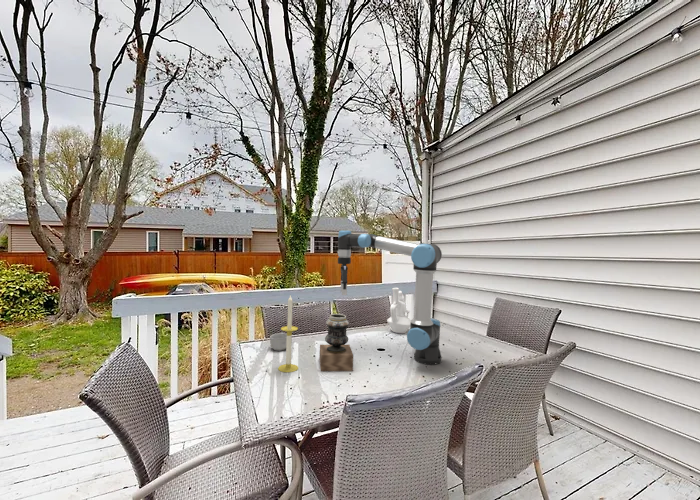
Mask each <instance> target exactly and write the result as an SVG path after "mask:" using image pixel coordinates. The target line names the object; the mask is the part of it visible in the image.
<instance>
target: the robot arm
mask: <svg viewBox="0 0 700 500" xmlns="http://www.w3.org/2000/svg"><path fill="white" fill-rule="evenodd" d="M337 236H338V238H337V243H338V244H337V245H338V246H337V247H338V248H337V252H336V253H337V256H338V258H337V264H339V265H341V266H340V292H341V295H342V296H348V295H347V294H348V269H349V267H348V266H347V265H350V264H351V262H352V261H351V260H352V259H351V256H352V248H362V249H363V248H365V249H366V248H372V249H377V250H383V251H385V252H391V253H395V254H400V255H404V256H408V257H411V262H412V263H413V267H412V268H413V271H414V272H415V285H414V305H413V306H414V308H413V318H412V319H410V320H411V323H410V327H409V329H408V330H407V331H408V332H407V334H406V341H407V343H408V344H409V345H410V347H412V349H415V350H414V353H413V360H415V361H416V362H418V363H420V364H424V363H426V364H425V365H436V364H435V363H439V364H441V363H442V362H443V361H442V358H443V356H442V354H441V350H440V336H441V335H440V334H441V321H440V320H439V319H436V318H433V317H432V301H433V300H432V299H433V282H434V280H433V279H434V274H435V272H437V265H438V264H439V262H440V261H441V259H442V255H443V253H442V250H441V248H440V247H439V246H438V245H437V244H434V243H425V242H419V243H415V242H409V241H406V240H401V239H400V240H399V239H395V238H390V237H386V236H381V235H376V234H373V233H371V234H368V233H367V234H366V233H352V231H351V230H339V231H338V235H337ZM440 362H441V363H440Z"/></svg>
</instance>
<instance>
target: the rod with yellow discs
mask: <svg viewBox="0 0 700 500" xmlns="http://www.w3.org/2000/svg"><path fill="white" fill-rule="evenodd" d="M286 323H287V324H286V325H285V326H282V327H280V330H281V331H282V332H286V334H287V342H286V349H285V351H286V352H285V364H281V365H279V366H278V368H277V370H278V371H279V372H282V373H294V372H297V371H298V370H299V366H298V365H296V364H292V339H293V332H296V331H298V329H299V327H298V326H295V325H293V298H292V296H291V294H290V295H289V298H288V299H287V322H286Z"/></svg>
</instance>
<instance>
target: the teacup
mask: <svg viewBox="0 0 700 500" xmlns="http://www.w3.org/2000/svg"><path fill="white" fill-rule="evenodd" d="M269 341H270V347H271V348H272V350H274V351H279V352H280V351H284V350H285V351H286V342H287V332H286V333H285V332H284V331H281V332H279V333H273V334H271V335H270V336H269Z"/></svg>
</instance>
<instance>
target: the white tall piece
mask: <svg viewBox="0 0 700 500" xmlns="http://www.w3.org/2000/svg"><path fill="white" fill-rule="evenodd" d="M391 289H392V304H391V305H390V307H389V311H390V317H389V318H387V319H386V321H387V323H388V326H389V328H390V329H391V331H392V332H393V333H397V334H406V333H407V331H409V329H410V323H411V320H412V319H410V318H409V314H410V312H411V311H410V310H409V309H407V305H406V302H405V301H406V300H405V296H404V294H403V291H402V290H400V288H399V287H393V288H391ZM405 314H406V315H405Z"/></svg>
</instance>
